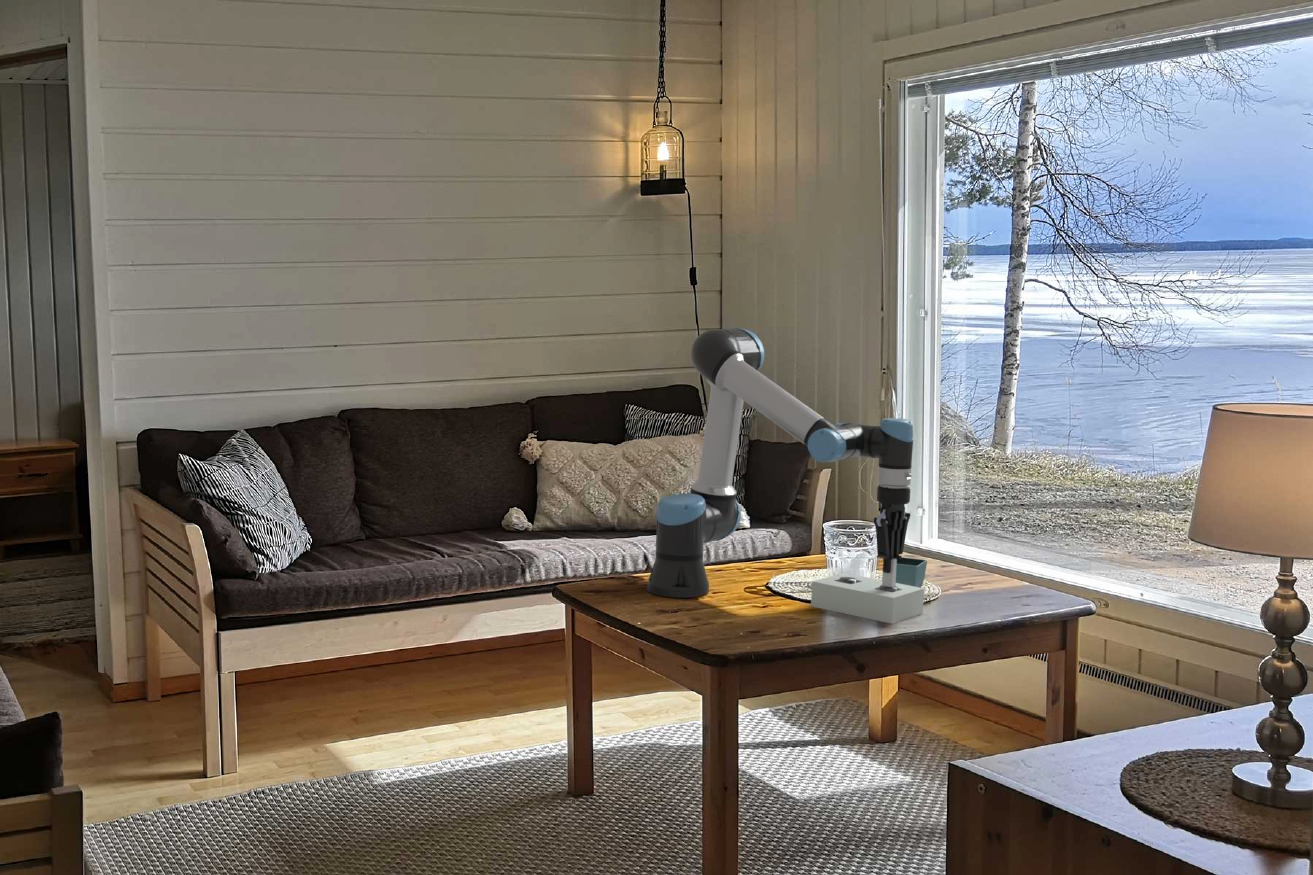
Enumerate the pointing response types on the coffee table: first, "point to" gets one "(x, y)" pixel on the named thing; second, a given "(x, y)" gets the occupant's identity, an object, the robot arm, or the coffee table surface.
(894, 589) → the right peg
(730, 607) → the coffee table surface
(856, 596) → the peg block
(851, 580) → the left peg
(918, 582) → the flower pot
